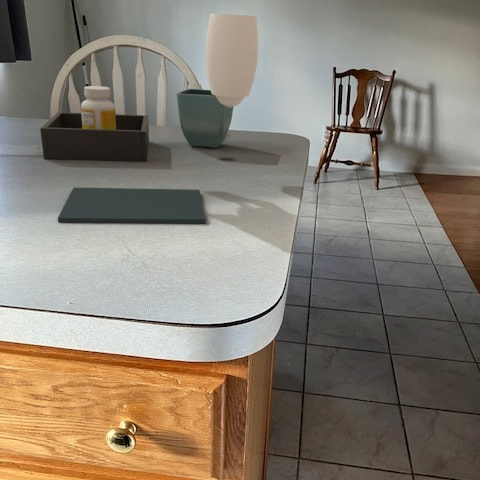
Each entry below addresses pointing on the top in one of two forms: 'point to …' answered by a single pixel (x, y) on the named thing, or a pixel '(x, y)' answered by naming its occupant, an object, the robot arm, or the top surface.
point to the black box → (95, 139)
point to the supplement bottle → (98, 109)
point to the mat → (133, 206)
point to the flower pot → (203, 117)
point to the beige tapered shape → (231, 56)
